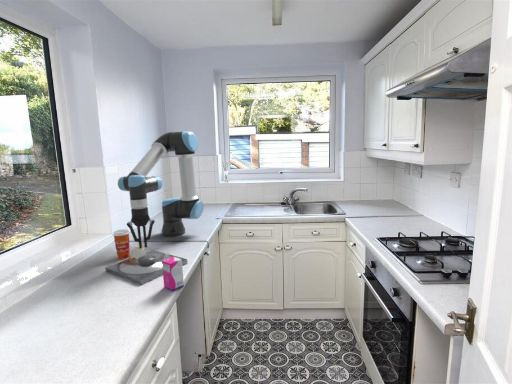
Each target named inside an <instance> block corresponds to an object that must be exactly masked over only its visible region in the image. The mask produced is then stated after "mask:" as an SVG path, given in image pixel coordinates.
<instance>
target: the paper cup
mask: <svg viewBox="0 0 512 384" xmlns="http://www.w3.org/2000/svg"><path fill="white" fill-rule="evenodd" d="M130 233H131V231H129V229H125V228H124V229H117V230H115V231H113V234H112V235H113V237H114V238H113V239H114V244H115V249H116V256H117V259H118V260H127V259H129V257H131V256H130Z"/></svg>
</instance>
